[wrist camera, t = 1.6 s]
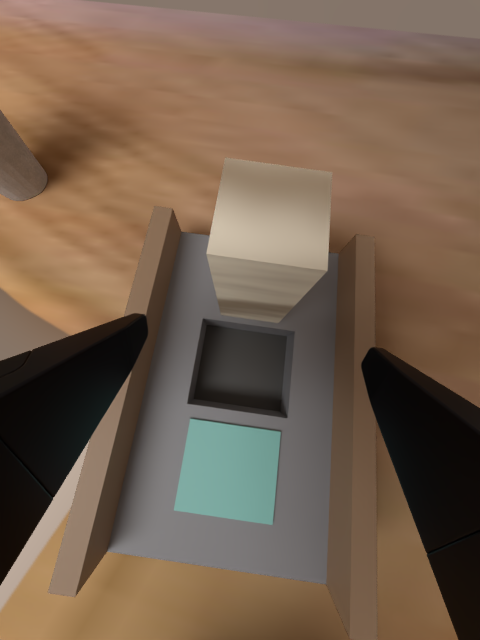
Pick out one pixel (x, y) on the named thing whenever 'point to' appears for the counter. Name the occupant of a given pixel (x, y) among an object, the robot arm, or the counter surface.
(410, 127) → the counter surface
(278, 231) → the block
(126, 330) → the robot arm
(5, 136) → the house plant
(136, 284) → the channel
